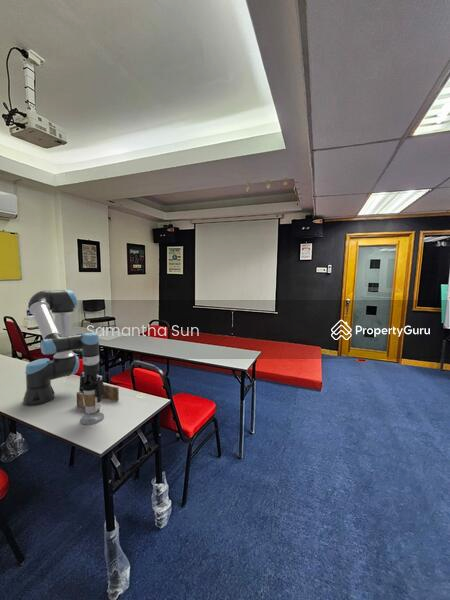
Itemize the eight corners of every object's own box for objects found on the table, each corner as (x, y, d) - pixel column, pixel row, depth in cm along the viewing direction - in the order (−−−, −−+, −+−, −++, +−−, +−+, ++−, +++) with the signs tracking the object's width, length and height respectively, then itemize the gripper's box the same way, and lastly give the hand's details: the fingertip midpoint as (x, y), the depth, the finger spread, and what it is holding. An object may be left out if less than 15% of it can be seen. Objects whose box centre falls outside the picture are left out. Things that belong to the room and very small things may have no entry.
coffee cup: (93, 415, 128) (93, 386, 127) (78, 413, 130) (78, 384, 129) (104, 407, 136) (104, 380, 135) (90, 405, 138) (90, 378, 137)
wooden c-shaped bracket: (76, 406, 146) (76, 392, 145) (98, 395, 160) (98, 382, 159) (98, 412, 140) (97, 398, 139) (118, 400, 154) (118, 387, 153)
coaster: (75, 421, 131) (75, 420, 131) (93, 411, 141) (93, 410, 141) (91, 426, 127) (91, 425, 127) (108, 415, 137) (108, 414, 137)
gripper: (70, 362, 131) (71, 405, 133) (100, 368, 124) (101, 414, 126) (82, 358, 138) (84, 399, 140) (112, 363, 131) (112, 407, 133)
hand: (92, 406), depth 133 cm, fingers closed on coffee cup, 7 cm apart
